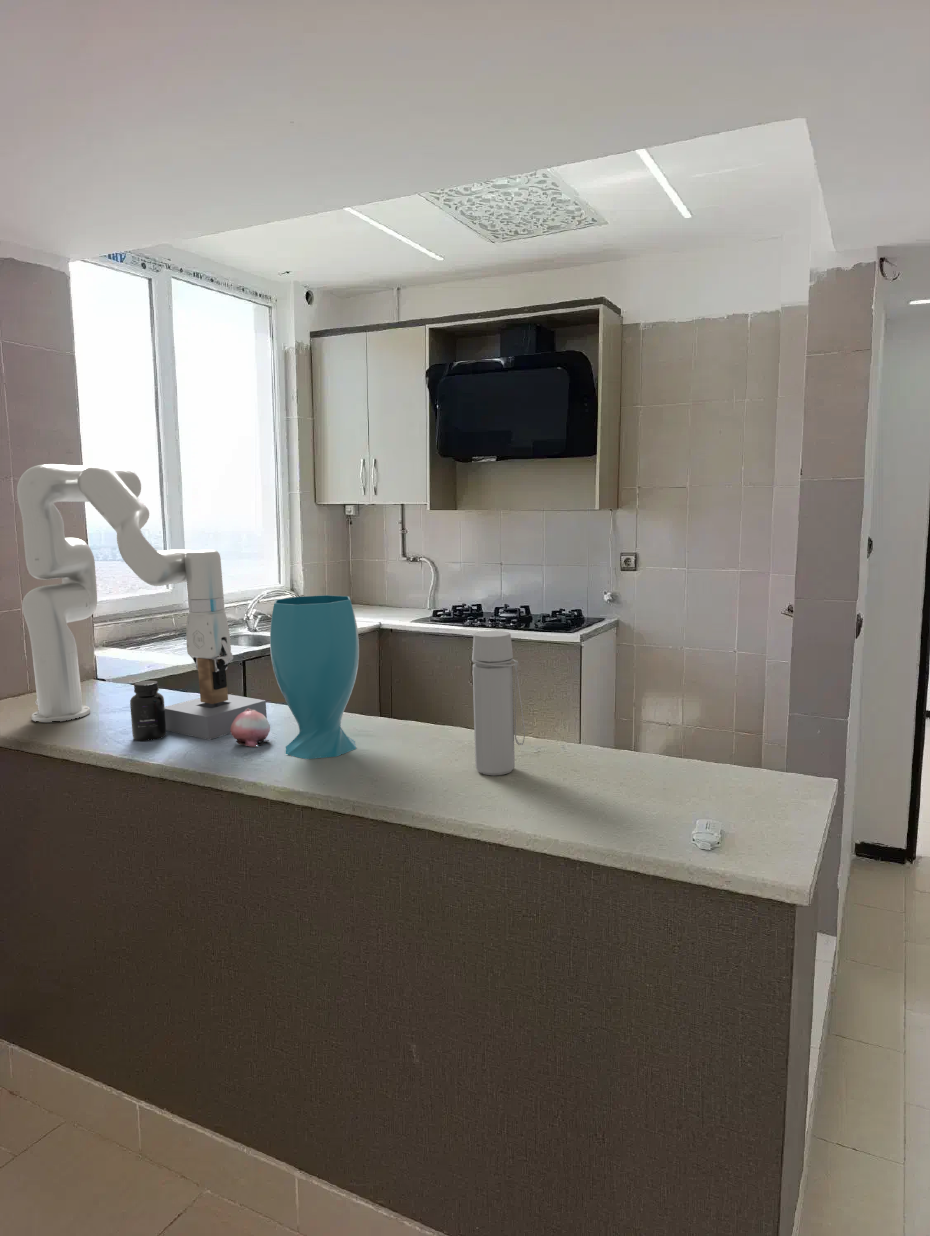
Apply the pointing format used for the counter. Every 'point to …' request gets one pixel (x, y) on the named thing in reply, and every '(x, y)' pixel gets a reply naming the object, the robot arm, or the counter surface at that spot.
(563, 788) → the counter surface
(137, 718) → the supplement bottle
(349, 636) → the vase
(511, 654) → the water bottle
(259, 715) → the pink round piece
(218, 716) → the socket block
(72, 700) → the robot arm
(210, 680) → the peg
